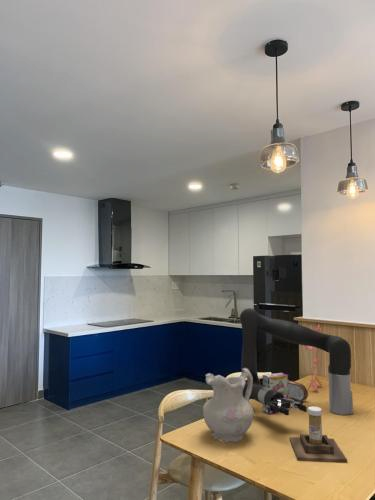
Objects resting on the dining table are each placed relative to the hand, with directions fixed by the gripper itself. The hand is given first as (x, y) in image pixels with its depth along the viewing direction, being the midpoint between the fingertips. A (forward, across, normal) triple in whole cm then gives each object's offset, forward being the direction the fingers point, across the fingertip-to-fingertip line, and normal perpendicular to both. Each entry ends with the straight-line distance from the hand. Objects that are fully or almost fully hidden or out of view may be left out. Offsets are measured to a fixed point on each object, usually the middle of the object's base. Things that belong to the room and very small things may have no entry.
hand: (297, 411), depth 141 cm
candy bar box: (-28, +11, +11) cm, 32 cm away
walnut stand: (+10, 0, +10) cm, 14 cm away
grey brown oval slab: (-38, +30, +11) cm, 50 cm away
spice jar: (+10, 0, +10) cm, 14 cm away
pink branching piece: (-42, +53, +11) cm, 69 cm away
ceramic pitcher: (-14, -21, +11) cm, 27 cm away
